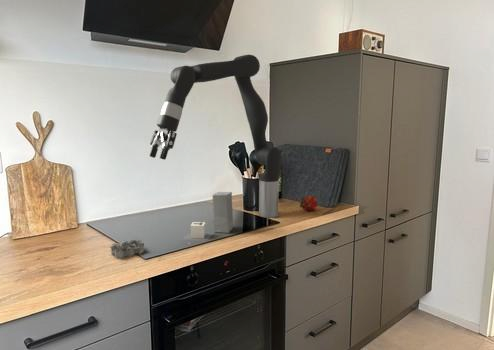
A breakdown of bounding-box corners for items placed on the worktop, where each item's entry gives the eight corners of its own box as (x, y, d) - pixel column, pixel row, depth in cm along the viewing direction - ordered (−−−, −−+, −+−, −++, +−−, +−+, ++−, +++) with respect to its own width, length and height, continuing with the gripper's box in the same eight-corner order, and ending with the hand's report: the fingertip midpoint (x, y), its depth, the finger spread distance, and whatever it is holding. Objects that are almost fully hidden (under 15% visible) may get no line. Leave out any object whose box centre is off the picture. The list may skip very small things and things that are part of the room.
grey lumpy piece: (116, 260, 119) (115, 248, 119) (109, 253, 125) (108, 242, 124) (147, 253, 126) (146, 241, 125) (139, 247, 131) (138, 236, 131)
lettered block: (193, 234, 146) (192, 221, 145) (205, 234, 146) (205, 221, 145) (190, 238, 141) (190, 225, 140) (203, 238, 141) (203, 225, 140)
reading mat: (190, 232, 149) (190, 231, 149) (214, 233, 147) (214, 233, 147) (181, 240, 139) (181, 239, 139) (206, 241, 138) (206, 241, 137)
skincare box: (228, 233, 147) (228, 195, 144) (211, 232, 148) (211, 194, 146) (233, 227, 155) (233, 191, 153) (217, 226, 156) (217, 190, 154)
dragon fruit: (299, 215, 182) (313, 214, 190) (311, 207, 177) (326, 207, 185) (293, 200, 185) (307, 200, 194) (305, 192, 180) (319, 192, 188)
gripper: (188, 120, 133) (174, 162, 132) (169, 120, 144) (157, 159, 143) (170, 112, 128) (156, 156, 127) (153, 113, 139) (140, 153, 138)
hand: (157, 158), depth 135 cm, fingers open, 8 cm apart
